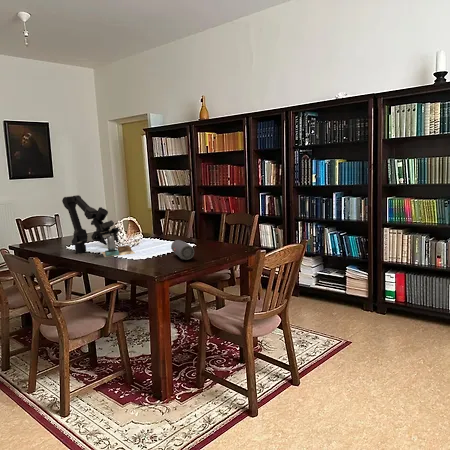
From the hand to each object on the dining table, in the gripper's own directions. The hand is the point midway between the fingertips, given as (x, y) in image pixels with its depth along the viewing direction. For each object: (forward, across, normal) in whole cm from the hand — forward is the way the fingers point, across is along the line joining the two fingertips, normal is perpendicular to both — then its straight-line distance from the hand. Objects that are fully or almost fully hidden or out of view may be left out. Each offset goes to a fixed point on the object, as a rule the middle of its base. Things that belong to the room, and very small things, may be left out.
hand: (112, 243), depth 271 cm
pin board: (+4, +6, +8) cm, 11 cm away
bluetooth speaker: (+38, +15, -25) cm, 48 cm away
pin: (+4, 0, +6) cm, 8 cm away
